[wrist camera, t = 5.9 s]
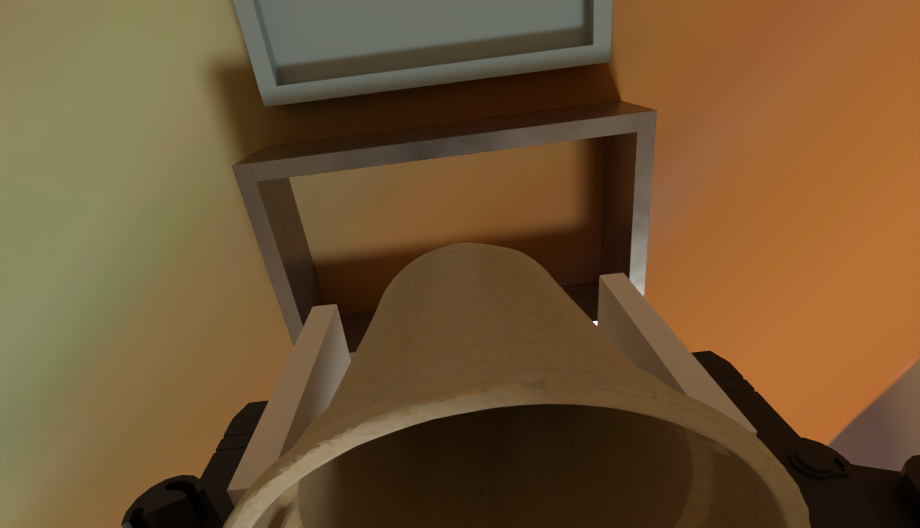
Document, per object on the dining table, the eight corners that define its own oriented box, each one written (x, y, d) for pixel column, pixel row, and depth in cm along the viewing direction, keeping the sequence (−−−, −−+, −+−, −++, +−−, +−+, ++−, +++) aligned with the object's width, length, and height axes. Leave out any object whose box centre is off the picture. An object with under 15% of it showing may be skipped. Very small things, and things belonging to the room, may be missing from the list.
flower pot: (419, 119, 12) (394, 249, 4) (672, 278, 15) (944, 540, 7) (280, 365, 15) (122, 694, 7) (507, 460, 18) (565, 779, 10)
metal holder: (319, 329, 35) (302, 371, 30) (263, 147, 29) (232, 165, 24) (614, 291, 35) (641, 327, 30) (621, 100, 29) (656, 110, 24)
